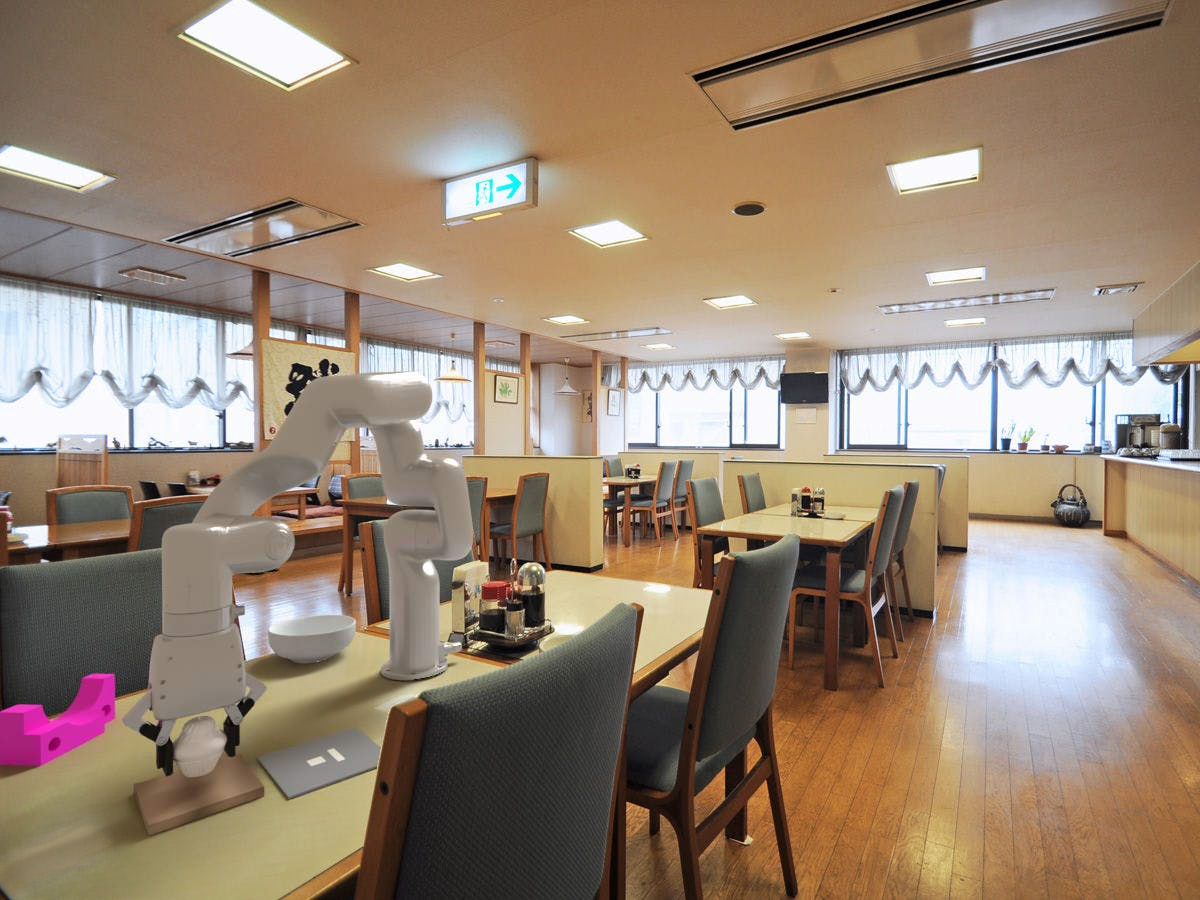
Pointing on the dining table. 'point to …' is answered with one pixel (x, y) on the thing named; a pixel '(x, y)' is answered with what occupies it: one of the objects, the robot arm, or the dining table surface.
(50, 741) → the magenta cradle bracket
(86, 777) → the dining table surface
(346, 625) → the cereal bowl
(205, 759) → the muffin
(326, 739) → the tile
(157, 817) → the walnut pad
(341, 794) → the dining table surface
